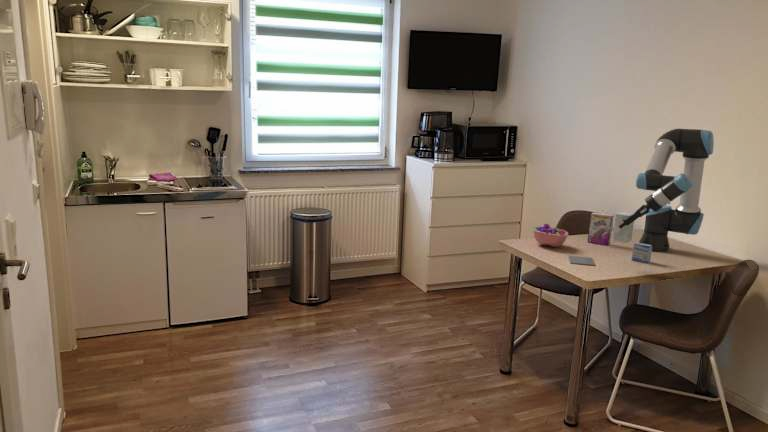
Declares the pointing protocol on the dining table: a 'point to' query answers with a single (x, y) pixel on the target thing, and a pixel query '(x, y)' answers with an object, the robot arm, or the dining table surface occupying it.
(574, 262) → the slate coaster
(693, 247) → the dining table surface
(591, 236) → the candy bar box
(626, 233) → the small box
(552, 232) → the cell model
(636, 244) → the medicine box
